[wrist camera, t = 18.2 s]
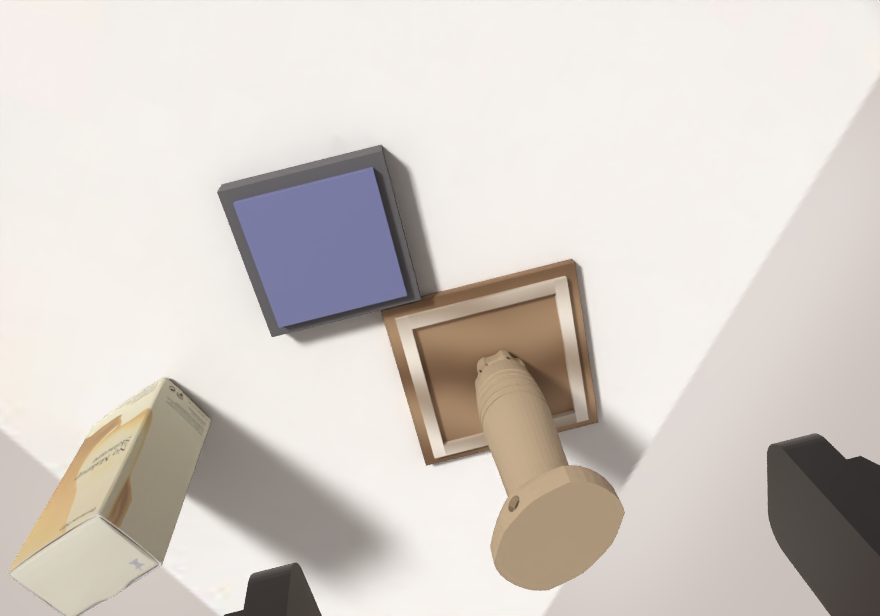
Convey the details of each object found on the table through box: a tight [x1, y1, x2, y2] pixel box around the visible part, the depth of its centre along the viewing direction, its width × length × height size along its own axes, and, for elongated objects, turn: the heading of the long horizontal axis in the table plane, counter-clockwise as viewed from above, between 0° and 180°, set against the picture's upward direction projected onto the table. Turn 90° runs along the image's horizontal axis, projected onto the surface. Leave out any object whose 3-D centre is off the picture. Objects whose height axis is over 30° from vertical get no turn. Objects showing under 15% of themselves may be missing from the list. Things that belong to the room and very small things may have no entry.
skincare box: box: [7, 378, 211, 616], centre depth 39 cm, size 6×4×12 cm
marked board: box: [381, 259, 598, 465], centre depth 45 cm, size 12×12×1 cm
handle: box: [475, 350, 625, 591], centre depth 38 cm, size 5×6×15 cm
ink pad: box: [217, 145, 421, 337], centre depth 40 cm, size 9×9×2 cm
